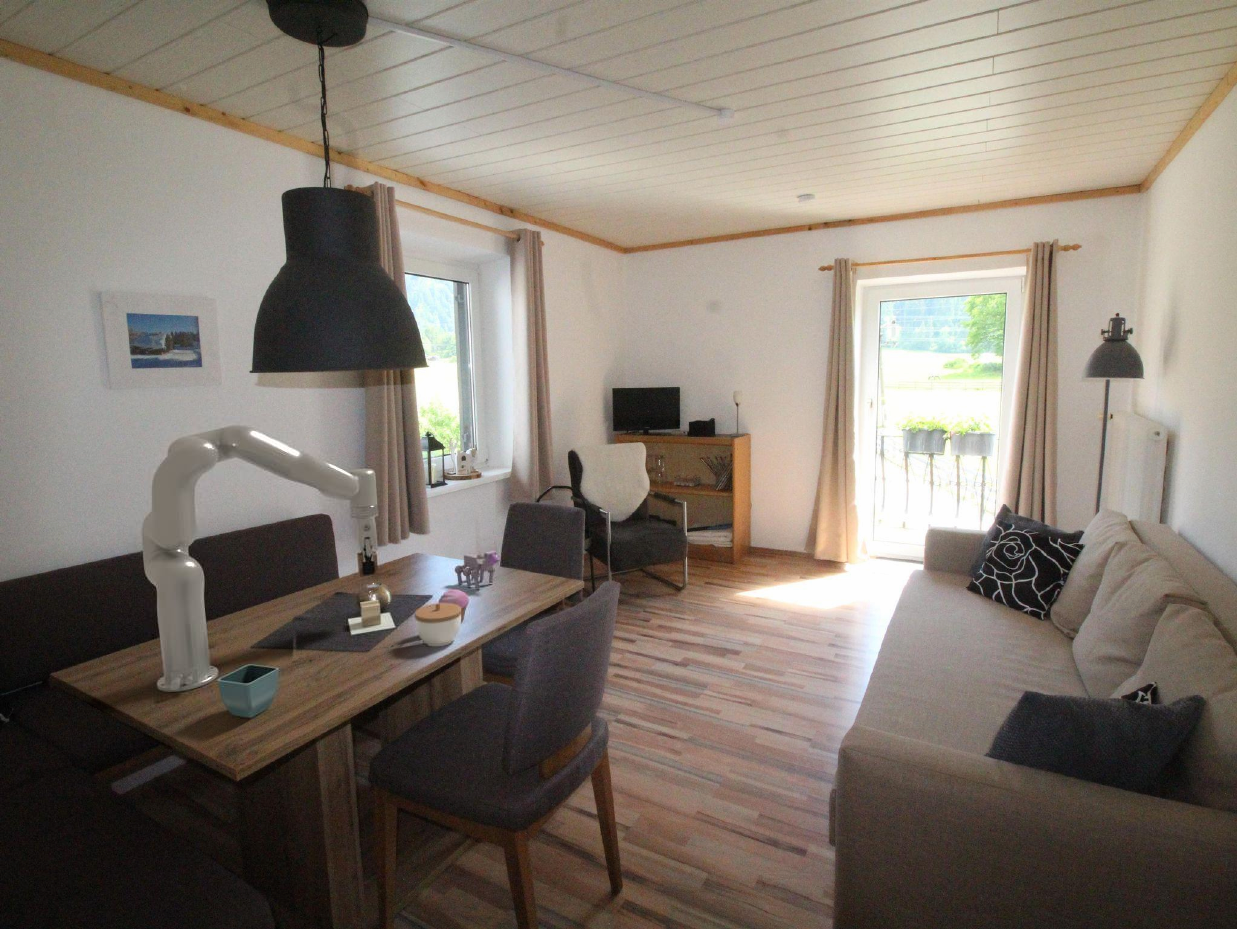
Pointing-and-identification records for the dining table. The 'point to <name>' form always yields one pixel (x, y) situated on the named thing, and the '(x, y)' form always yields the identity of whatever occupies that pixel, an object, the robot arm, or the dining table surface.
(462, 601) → the cupcake
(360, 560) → the walnut block
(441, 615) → the lidded bowl
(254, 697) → the flower pot
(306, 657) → the dining table surface
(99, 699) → the dining table surface
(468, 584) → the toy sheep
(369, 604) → the maple block
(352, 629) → the plate
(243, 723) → the dining table surface
